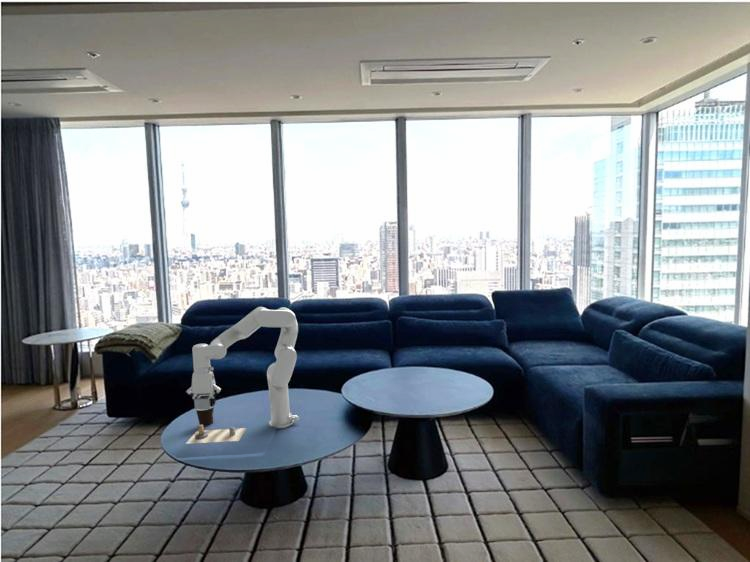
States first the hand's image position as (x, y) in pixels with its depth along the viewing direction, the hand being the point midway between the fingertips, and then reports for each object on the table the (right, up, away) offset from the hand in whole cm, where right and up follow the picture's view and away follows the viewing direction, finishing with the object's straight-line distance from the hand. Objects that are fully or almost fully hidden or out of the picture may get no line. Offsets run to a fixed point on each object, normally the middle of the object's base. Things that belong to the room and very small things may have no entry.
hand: (204, 405), depth 222 cm
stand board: (+5, -16, +2) cm, 17 cm away
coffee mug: (-5, -15, +19) cm, 25 cm away
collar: (0, 0, 0) cm, 0 cm away
